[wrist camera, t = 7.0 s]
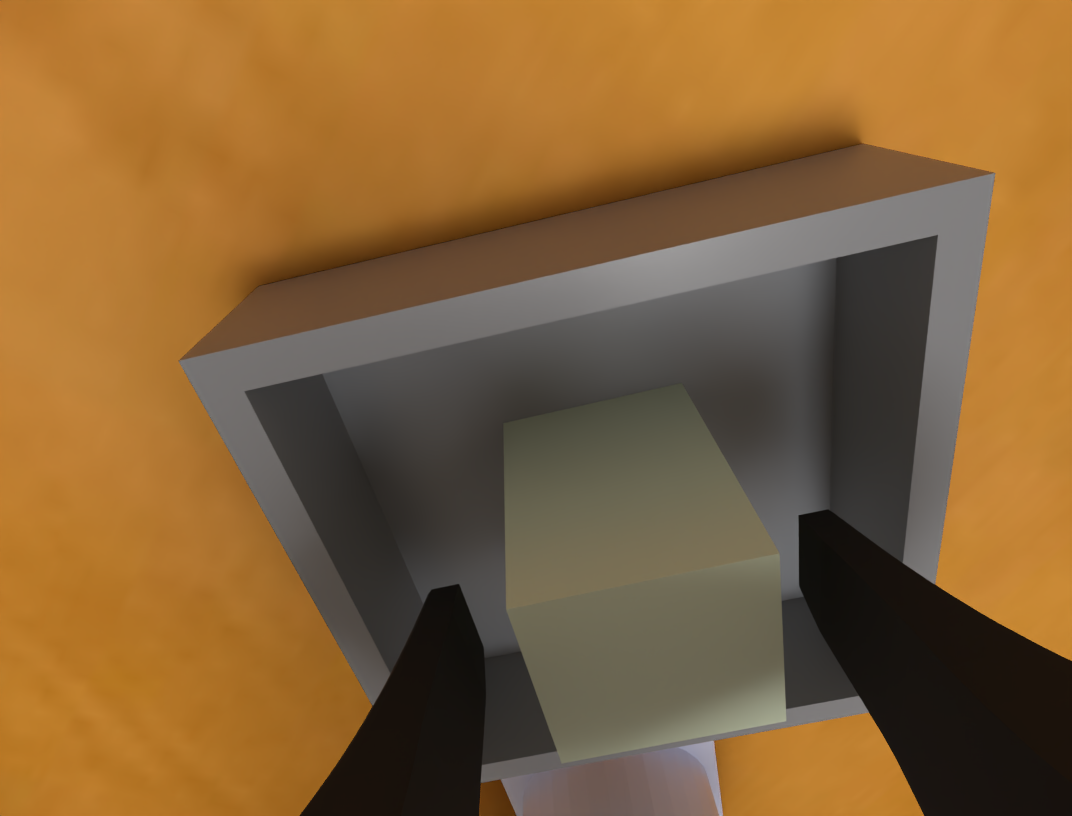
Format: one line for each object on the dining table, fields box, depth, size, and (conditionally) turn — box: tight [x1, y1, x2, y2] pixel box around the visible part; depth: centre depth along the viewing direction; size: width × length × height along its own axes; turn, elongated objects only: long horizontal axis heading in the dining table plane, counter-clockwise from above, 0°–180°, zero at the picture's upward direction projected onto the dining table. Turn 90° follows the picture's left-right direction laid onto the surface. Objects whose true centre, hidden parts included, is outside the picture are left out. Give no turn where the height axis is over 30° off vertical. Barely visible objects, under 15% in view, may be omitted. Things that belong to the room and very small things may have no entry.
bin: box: [179, 144, 995, 783], centre depth 15 cm, size 14×14×4 cm
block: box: [503, 383, 786, 763], centre depth 14 cm, size 4×4×6 cm
